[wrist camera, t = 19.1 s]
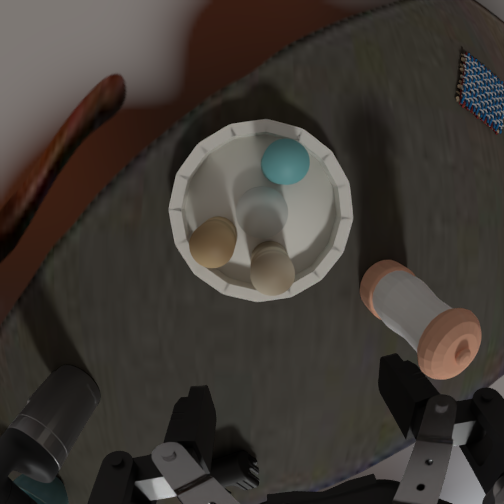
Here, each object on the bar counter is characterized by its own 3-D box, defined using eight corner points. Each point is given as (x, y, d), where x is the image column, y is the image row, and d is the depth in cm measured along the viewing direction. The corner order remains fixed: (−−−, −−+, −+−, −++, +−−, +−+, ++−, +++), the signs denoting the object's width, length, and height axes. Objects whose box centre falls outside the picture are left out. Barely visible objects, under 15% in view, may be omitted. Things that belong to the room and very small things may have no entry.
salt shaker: (412, 294, 38) (495, 364, 19) (369, 319, 39) (435, 407, 20) (398, 249, 36) (493, 303, 18) (351, 275, 37) (425, 352, 19)
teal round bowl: (81, 485, 51) (67, 516, 39) (76, 501, 55) (64, 527, 43) (26, 449, 49) (7, 476, 37) (27, 471, 53) (12, 494, 41)
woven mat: (501, 86, 31) (508, 84, 29) (495, 137, 33) (503, 136, 31) (459, 51, 30) (466, 47, 28) (451, 102, 32) (459, 100, 30)
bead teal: (263, 186, 34) (266, 187, 28) (258, 148, 33) (259, 141, 27) (302, 181, 33) (312, 181, 28) (296, 143, 32) (306, 136, 27)
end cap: (238, 441, 44) (237, 471, 38) (260, 460, 46) (261, 488, 39) (194, 457, 46) (189, 484, 39) (217, 474, 47) (215, 500, 40)
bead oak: (228, 259, 35) (223, 275, 30) (193, 244, 35) (182, 257, 29) (243, 225, 35) (241, 234, 29) (208, 210, 34) (199, 216, 28)
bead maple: (268, 233, 35) (271, 243, 29) (295, 257, 35) (304, 272, 30) (242, 261, 36) (240, 276, 30) (270, 284, 36) (274, 304, 30)
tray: (194, 300, 38) (189, 310, 35) (165, 141, 33) (157, 138, 30) (349, 277, 37) (357, 286, 34) (331, 118, 33) (338, 112, 30)
